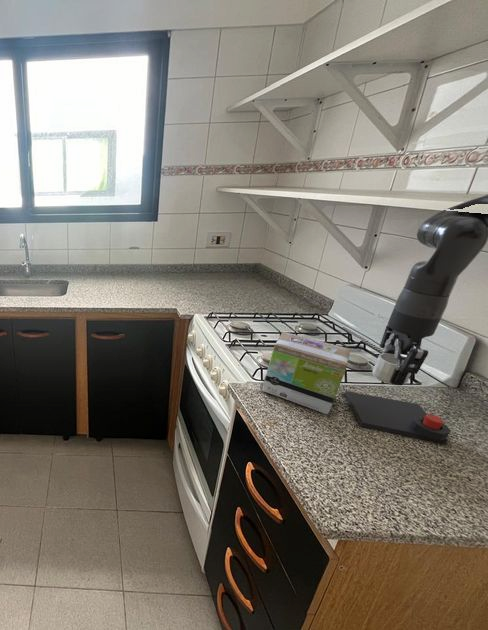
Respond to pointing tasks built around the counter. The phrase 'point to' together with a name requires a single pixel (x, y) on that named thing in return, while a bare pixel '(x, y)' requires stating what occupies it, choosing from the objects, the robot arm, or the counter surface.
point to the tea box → (306, 371)
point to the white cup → (386, 368)
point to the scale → (394, 417)
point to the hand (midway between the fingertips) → (389, 375)
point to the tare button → (433, 422)
